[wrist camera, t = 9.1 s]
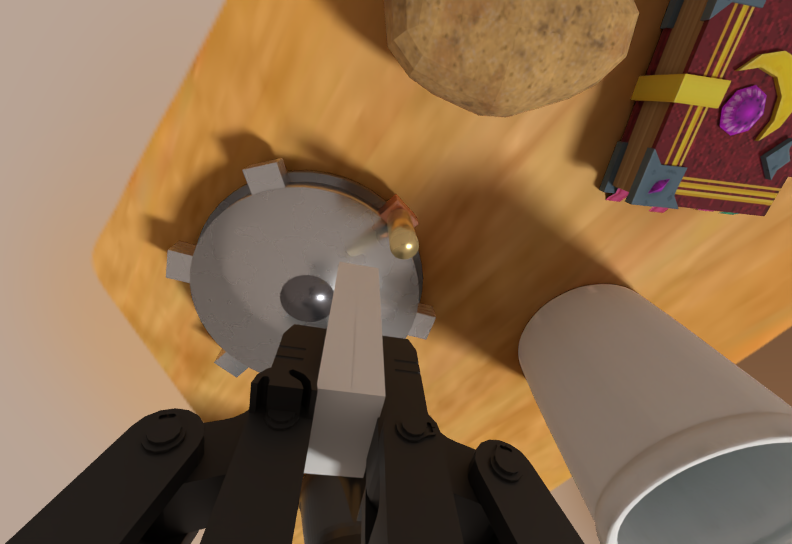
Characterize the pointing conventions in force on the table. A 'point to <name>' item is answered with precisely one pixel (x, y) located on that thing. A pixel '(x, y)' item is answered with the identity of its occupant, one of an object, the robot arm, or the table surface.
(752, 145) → the decorative book
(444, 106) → the table surface
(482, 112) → the potato
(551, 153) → the table surface
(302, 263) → the sprocket
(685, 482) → the utensil holder
